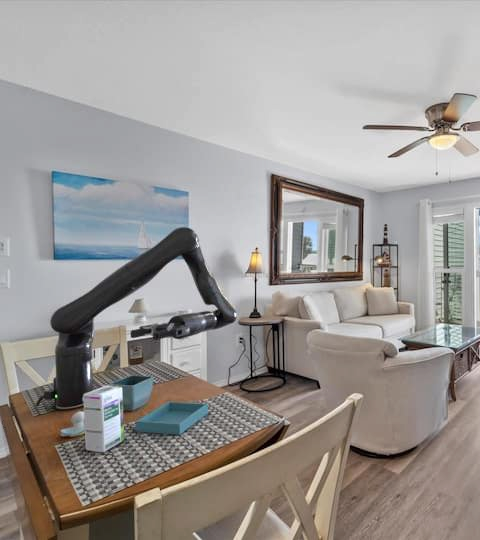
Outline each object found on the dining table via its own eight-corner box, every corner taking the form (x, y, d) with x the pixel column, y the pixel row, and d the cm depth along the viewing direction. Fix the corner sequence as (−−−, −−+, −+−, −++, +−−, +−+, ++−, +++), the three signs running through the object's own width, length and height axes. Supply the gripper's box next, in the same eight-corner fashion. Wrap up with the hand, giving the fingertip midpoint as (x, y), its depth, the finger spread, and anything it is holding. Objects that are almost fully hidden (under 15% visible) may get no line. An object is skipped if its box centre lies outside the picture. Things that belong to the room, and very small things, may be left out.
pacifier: (56, 436, 90) (64, 442, 87) (55, 413, 90) (63, 418, 87) (89, 425, 96) (98, 430, 93) (88, 403, 96) (97, 408, 93)
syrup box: (103, 453, 82) (102, 394, 81) (84, 450, 83) (82, 392, 82) (124, 440, 87) (123, 386, 87) (106, 438, 88) (104, 384, 88)
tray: (135, 431, 92) (135, 421, 92) (169, 410, 105) (169, 401, 105) (179, 434, 90) (179, 424, 90) (208, 412, 103) (208, 403, 103)
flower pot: (155, 402, 111) (154, 376, 111) (133, 414, 102) (132, 385, 102) (131, 401, 112) (131, 374, 112) (108, 412, 104) (107, 384, 103)
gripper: (170, 312, 112) (123, 321, 97) (205, 314, 108) (161, 323, 93) (171, 334, 113) (124, 346, 97) (205, 337, 108) (162, 350, 93)
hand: (142, 335), depth 95 cm, fingers open, 8 cm apart
